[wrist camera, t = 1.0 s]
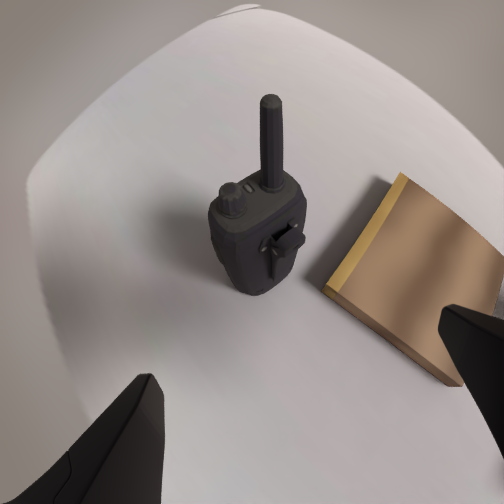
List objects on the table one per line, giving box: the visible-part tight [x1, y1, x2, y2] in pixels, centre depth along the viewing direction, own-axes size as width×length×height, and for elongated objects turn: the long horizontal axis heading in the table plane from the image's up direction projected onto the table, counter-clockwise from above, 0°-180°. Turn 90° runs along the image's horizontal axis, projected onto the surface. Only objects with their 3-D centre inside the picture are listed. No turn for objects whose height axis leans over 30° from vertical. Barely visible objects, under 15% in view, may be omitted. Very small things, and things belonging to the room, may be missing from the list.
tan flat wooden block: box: [321, 172, 504, 387], centre depth 20 cm, size 14×13×2 cm
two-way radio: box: [208, 94, 307, 296], centre depth 15 cm, size 6×4×15 cm
